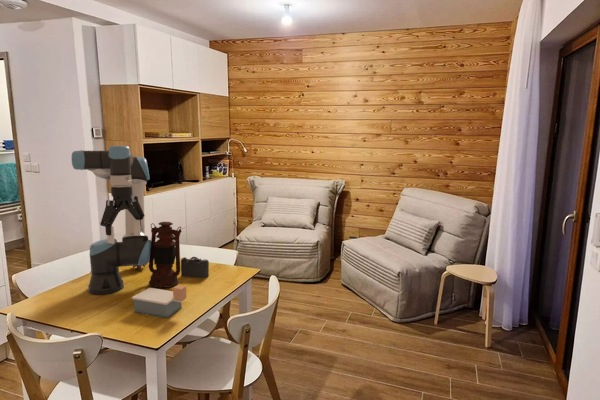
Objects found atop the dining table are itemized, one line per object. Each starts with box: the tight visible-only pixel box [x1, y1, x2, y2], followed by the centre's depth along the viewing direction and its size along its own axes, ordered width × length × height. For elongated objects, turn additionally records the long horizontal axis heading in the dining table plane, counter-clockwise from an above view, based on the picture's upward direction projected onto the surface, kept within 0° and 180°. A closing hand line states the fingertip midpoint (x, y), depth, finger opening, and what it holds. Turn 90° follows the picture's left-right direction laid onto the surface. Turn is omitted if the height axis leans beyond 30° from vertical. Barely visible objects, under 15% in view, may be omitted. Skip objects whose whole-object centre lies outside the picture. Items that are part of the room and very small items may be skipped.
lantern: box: [148, 221, 183, 288], centre depth 197 cm, size 17×14×30 cm
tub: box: [132, 299, 183, 319], centre depth 169 cm, size 16×10×6 cm, turn 71°
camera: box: [180, 256, 210, 279], centre depth 211 cm, size 14×11×10 cm
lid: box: [131, 284, 187, 305], centre depth 168 cm, size 21×11×7 cm, turn 71°
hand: (124, 239), depth 160 cm, fingers open, 13 cm apart
